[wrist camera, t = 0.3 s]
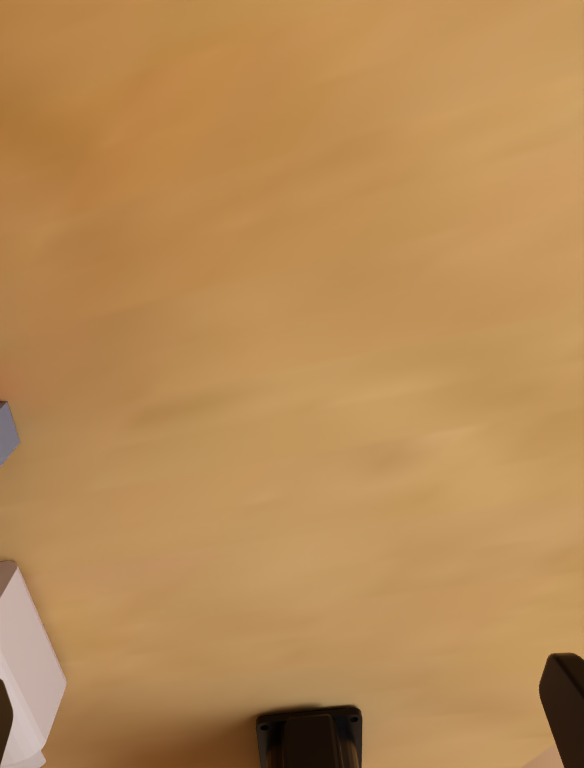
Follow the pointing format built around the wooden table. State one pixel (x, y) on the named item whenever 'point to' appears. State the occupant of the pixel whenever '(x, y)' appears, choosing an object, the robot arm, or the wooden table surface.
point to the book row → (7, 433)
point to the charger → (26, 672)
